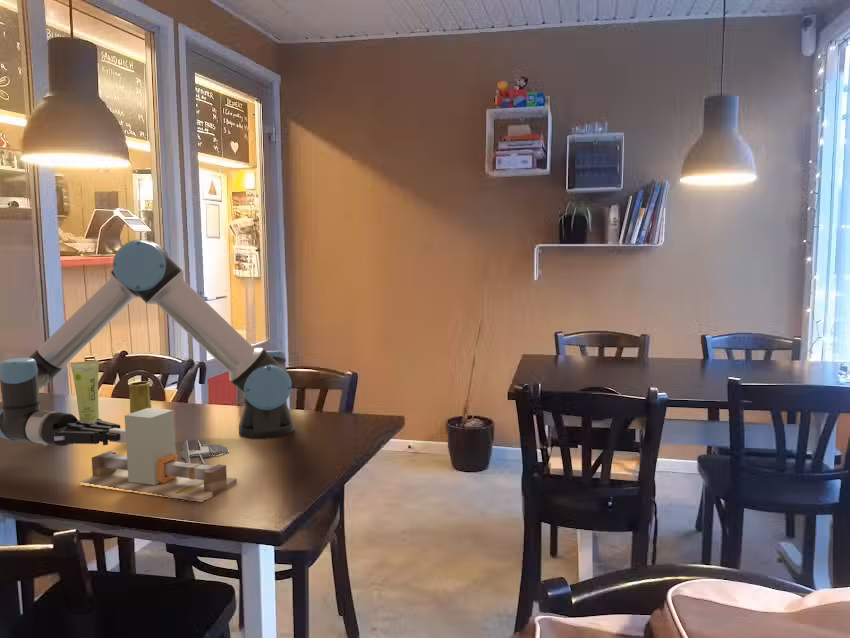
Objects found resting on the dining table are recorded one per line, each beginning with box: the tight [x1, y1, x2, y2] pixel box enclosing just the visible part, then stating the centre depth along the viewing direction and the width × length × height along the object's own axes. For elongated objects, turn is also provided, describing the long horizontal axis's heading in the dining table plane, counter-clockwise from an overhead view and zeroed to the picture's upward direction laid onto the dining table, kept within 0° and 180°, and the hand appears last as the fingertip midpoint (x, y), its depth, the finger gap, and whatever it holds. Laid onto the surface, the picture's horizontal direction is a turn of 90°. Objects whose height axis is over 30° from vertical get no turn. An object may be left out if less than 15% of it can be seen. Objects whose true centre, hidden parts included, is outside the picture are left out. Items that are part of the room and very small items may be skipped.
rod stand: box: [79, 450, 238, 502], centre depth 144 cm, size 32×12×5 cm, turn 71°
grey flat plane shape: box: [180, 439, 228, 465], centre depth 165 cm, size 28×28×1 cm
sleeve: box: [124, 407, 179, 485], centre depth 144 cm, size 8×7×15 cm
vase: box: [128, 380, 152, 414], centre depth 184 cm, size 6×6×14 cm
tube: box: [69, 359, 100, 423], centre depth 190 cm, size 6×5×20 cm
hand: (134, 437), depth 144 cm, fingers closed
